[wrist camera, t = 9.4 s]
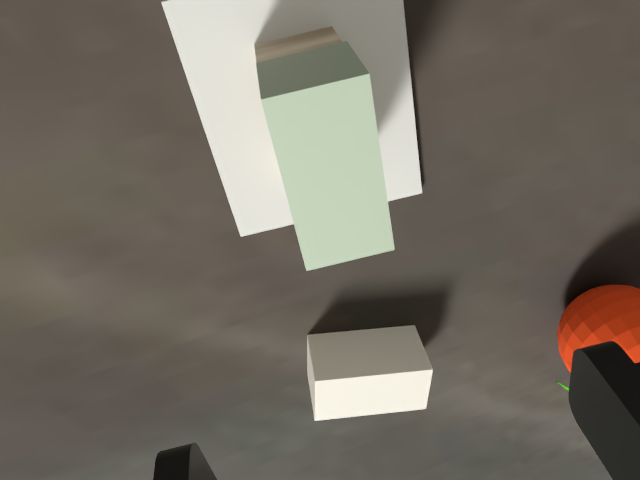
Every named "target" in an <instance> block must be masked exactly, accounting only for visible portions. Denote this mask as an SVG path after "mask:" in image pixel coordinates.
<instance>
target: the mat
mask: <svg viewBox="0 0 640 480" xmlns="http://www.w3.org/2000/svg"><path fill="white" fill-rule="evenodd" d="M161 3H162V6H163V9H164V12H165V15H166V18H167V21H168V24H169V26H170V29H171V32H172V35H173V38H174V41H175V44H176V47H177V50H178V53H179V56H180V59H181V62H182V65H183V68H184V71H185V74H186V77H187V80H188V83H189V85H190V88H191V91H192V94H193V97H194V100H195V103H196V106H197V109H198V112H199V115H200V118H201V121H202V124H203V127H204V130H205V133H206V136H207V139H208V142H209V144H210V147H211V150H212V153H213V156H214V159H215V162H216V165H217V168H218V171H219V174H220V177H221V180H222V183H223V186H224V189H225V192H226V195H227V198H228V201H229V203H230V206H231V209H232V212H233V215H234V218H235V221H236V224H237V227H238V230H239V233H240V236H241V237H242V236H246V235H250V234H254V233H258V232H263V231H267V230H271V229H275V228H279V227H283V226H287V225H292V224H294V222H293V218H292V215H291V211H290V207H289V203H288V200H287V196H286V192H285V188H284V185H283V181H282V177H281V173H280V169H279V166H278V162H277V158H276V154H275V151H274V147H273V143H272V139H271V136H270V132H269V128H268V124H267V121H266V117H265V113H264V109H263V106H262V102H261V97H260V89H259V82H258V75H257V68H256V63H257V62H256V55H255V48H254V45H255V44H260V43H264V42H268V41H272V40H276V39H280V38H285V37H289V36H293V35H297V34H301V33H306V32H310V31H314V30H318V29H322V28H327V27H331V26H332V27H333V29H334V30H335V32H336V33H337V35H338V36H339V38H340V39H341V41H342V42H345V41H347V42H348V43H349V45H350V46H351V48H352V49H353V50H354V52H355V53H356V55H357V56H358V58H359V59H360V61H361V62H362V63H363V65H364V66H365V68H366V69H367V71H368V72H369V74H370V81H371V88H372V95H373V102H374V109H375V116H376V123H377V130H378V137H379V144H380V151H381V158H382V165H383V172H384V179H385V186H386V193H387V200H388V201H392V200H396V199H400V198H404V197H408V196H412V195H417V194H421V193H422V186H421V176H420V166H419V155H418V145H417V135H416V125H415V115H414V105H413V94H412V84H411V74H410V64H409V54H408V44H407V33H406V23H405V13H404V3H403V0H162V2H161Z"/></svg>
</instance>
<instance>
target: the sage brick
mask: <svg viewBox="0 0 640 480" xmlns="http://www.w3.org/2000/svg"><path fill="white" fill-rule="evenodd" d="M256 68H257V75H258V82H259V89H260V97H261V102H262V106H263V109H264V113H265V117H266V121H267V124H268V128H269V132H270V136H271V139H272V143H273V147H274V151H275V154H276V158H277V162H278V166H279V169H280V173H281V177H282V181H283V185H284V188H285V192H286V196H287V200H288V203H289V207H290V211H291V215H292V218H293V222H294V226H295V230H296V233H297V237H298V241H299V245H300V248H301V252H302V256H303V260H304V264H305V267H306V271H309V270H313V269H317V268H321V267H325V266H329V265H333V264H338V263H342V262H346V261H350V260H354V259H358V258H363V257H367V256H371V255H375V254H379V253H383V252H387V251H392V250H395V249H394V242H393V235H392V228H391V221H390V214H389V207H388V200H387V193H386V186H385V179H384V172H383V165H382V158H381V151H380V144H379V137H378V130H377V123H376V116H375V109H374V102H373V95H372V88H371V81H370V74H369V72H368V71H367V69H366V68H365V66H364V65H363V63H362V62H361V61H360V59H359V58H358V56H357V55H356V53H355V52H354V50H353V49H352V48H351V46H350V45H349V43H348V42H347V41H345V42H341V43H336V44H332V45H328V46H324V47H320V48H316V49H311V50H307V51H303V52H299V53H295V54H290V55H286V56H282V57H278V58H274V59H270V60H265V61H261V62H257V63H256Z"/></svg>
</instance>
